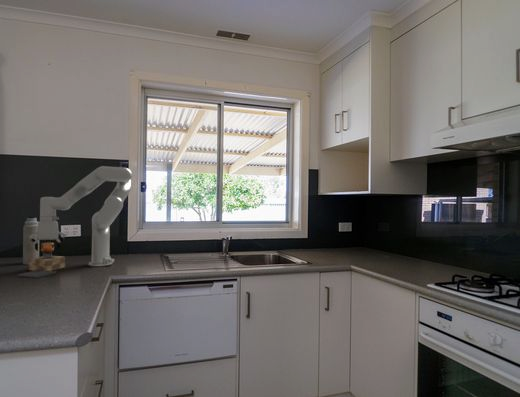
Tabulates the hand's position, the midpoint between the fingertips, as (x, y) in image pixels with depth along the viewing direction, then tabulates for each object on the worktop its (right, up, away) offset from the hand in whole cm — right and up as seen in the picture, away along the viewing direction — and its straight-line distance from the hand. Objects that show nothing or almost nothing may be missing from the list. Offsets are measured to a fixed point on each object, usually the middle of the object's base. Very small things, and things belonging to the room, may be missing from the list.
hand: (47, 250), depth 189 cm
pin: (0, -10, 0) cm, 10 cm away
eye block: (0, -10, 0) cm, 10 cm away
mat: (+4, -11, -14) cm, 18 cm away
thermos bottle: (-18, -10, +14) cm, 25 cm away
